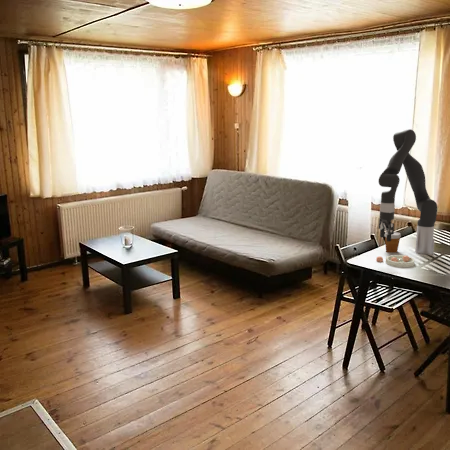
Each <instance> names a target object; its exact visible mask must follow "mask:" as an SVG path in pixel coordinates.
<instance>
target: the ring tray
mask: <svg viewBox="0 0 450 450" xmlns="http://www.w3.org/2000/svg"><path fill="white" fill-rule="evenodd" d="M404 256H405V255H401V254H392V255H388V256H386V257H385V263H386V264H387V265H389V266H392V267H398V268H410V267H413V266H415V258H413V257H411V256H408V257H409V261H408V262H404V261H403V257H404ZM393 257H395V258H397V260H398V262H394V261H391V258H393Z"/></svg>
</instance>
